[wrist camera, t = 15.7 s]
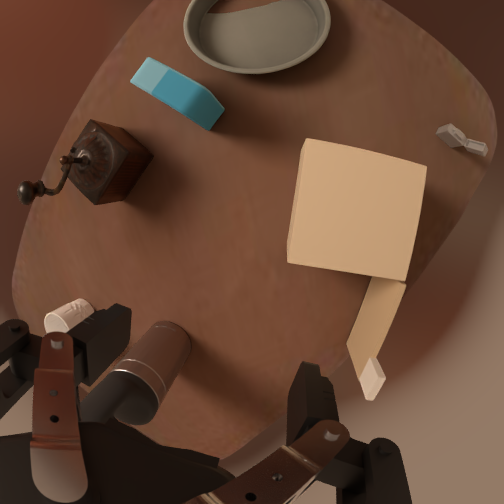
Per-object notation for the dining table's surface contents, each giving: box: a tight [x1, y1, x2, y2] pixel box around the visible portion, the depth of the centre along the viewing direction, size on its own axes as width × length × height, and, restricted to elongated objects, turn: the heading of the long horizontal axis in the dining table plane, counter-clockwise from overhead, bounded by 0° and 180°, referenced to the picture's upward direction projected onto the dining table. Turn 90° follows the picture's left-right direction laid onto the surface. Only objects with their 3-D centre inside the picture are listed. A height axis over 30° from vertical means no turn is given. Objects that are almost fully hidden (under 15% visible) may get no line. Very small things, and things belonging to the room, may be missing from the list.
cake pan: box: [184, 0, 331, 74], centre depth 37 cm, size 25×25×4 cm
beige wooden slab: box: [346, 276, 406, 400], centre depth 40 cm, size 1×16×17 cm, turn 167°
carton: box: [287, 138, 427, 281], centre depth 39 cm, size 15×16×12 cm
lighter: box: [436, 124, 488, 156], centre depth 36 cm, size 7×2×8 cm, turn 59°
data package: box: [130, 57, 225, 131], centre depth 38 cm, size 12×4×12 cm, turn 53°
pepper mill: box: [18, 119, 154, 205], centre depth 39 cm, size 16×11×18 cm
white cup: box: [44, 299, 94, 333], centre depth 51 cm, size 8×8×10 cm
